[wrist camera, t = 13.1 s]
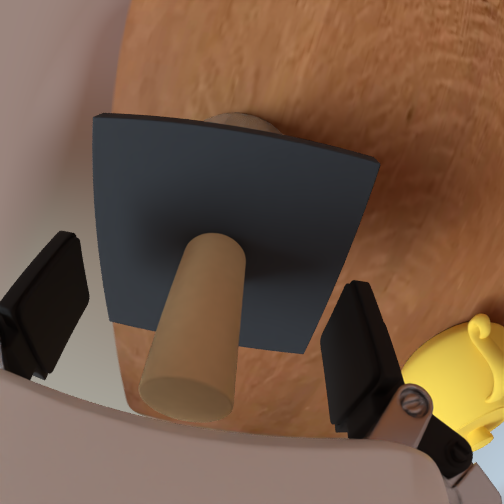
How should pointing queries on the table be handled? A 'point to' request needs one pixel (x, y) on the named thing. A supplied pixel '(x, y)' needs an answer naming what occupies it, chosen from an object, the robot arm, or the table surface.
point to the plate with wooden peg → (218, 245)
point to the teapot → (463, 377)
